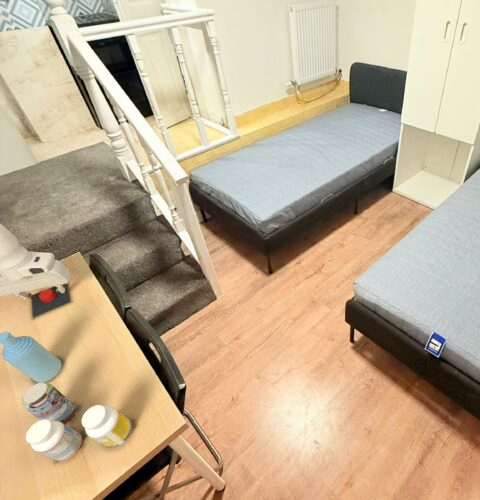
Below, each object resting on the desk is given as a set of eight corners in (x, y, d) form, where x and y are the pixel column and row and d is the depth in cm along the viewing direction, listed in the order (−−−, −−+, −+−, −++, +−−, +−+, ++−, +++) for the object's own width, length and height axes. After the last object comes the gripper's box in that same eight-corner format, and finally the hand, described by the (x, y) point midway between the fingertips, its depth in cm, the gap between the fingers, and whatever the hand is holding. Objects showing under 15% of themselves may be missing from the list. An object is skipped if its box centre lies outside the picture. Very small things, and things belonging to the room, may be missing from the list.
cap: (40, 301, 108) (35, 296, 106) (50, 292, 110) (46, 287, 109) (49, 303, 107) (44, 299, 105) (59, 294, 109) (54, 290, 108)
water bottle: (29, 385, 88) (-21, 352, 76) (38, 362, 93) (-8, 327, 81) (57, 379, 89) (12, 345, 77) (64, 356, 94) (23, 321, 82)
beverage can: (54, 436, 79) (20, 418, 71) (46, 412, 83) (14, 393, 75) (82, 417, 82) (53, 397, 74) (74, 395, 86) (45, 374, 78)
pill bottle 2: (133, 414, 82) (110, 395, 74) (133, 441, 78) (109, 424, 70) (104, 425, 81) (78, 407, 72) (103, 453, 76) (75, 437, 68)
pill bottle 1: (54, 440, 79) (22, 424, 71) (82, 427, 80) (55, 410, 73) (52, 467, 75) (19, 452, 67) (83, 452, 77) (53, 437, 69)
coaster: (33, 317, 104) (32, 316, 104) (32, 296, 110) (31, 295, 110) (69, 302, 108) (68, 301, 107) (66, 282, 114) (65, 281, 113)
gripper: (-28, 281, 94) (6, 310, 103) (51, 266, 97) (77, 295, 107) (-18, 265, 98) (14, 294, 108) (58, 251, 101) (82, 281, 111)
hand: (46, 295), depth 107 cm, fingers open, 8 cm apart
